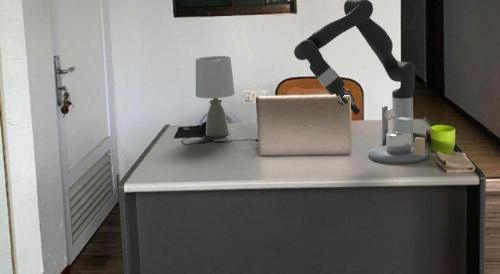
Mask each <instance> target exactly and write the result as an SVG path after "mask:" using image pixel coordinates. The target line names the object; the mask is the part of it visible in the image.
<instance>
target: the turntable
mask: <svg viewBox="0 0 500 274" xmlns="http://www.w3.org/2000/svg"><path fill="white" fill-rule="evenodd" d="M367 153H368V155H367V156H368V159H369V160H372V161H374V162H377V163H382V164H384V163H385V164H394V165H396V164H397V165H398V164H399V165H400V164H403V165H404V164H413V163H418V162H422V161H424V160H425V161H426V159H428V157H429V151H428V150H427V149H426V138H425V137H418V136H417V137H414V145H413V146H411V153H410V154H406V155H392V154H388V153H387V152H386V146H380V145H379V146H376V147H372V148H370V149H369V150H368V152H367Z"/></svg>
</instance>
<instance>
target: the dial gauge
mask: <svg viewBox="0 0 500 274" xmlns="http://www.w3.org/2000/svg"><path fill="white" fill-rule="evenodd" d="M395 116H396V113H395V111H394V110H392V108H391V109H390V108H388V106H385V105H382V106H381V127H382V128H381V129H382V130H381V131H382V132H381V133H382V134H381V144H380V145H379V146H386V134H387V133H389V127H388V126H389V121H392V119H394V118H395Z"/></svg>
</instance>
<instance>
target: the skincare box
mask: <svg viewBox="0 0 500 274" xmlns="http://www.w3.org/2000/svg"><path fill="white" fill-rule="evenodd" d="M397 131H403V132H409V133H411V146H414V118H413V119H411V118H405V117H400V118H397Z"/></svg>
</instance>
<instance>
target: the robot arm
mask: <svg viewBox="0 0 500 274" xmlns="http://www.w3.org/2000/svg"><path fill="white" fill-rule="evenodd" d="M343 11H344V14H345V15H344V16H342V17H340V18H338V19H334V20H332V21H329V22H327V23H325V24H324V25H322V26H320V27H319V28H318V29H317V30H316V31H314V32H313V33H312V34H311V35H310V36H309V37H307V38H305V39H304V40H302V41H300V42H299V43H298V44H297V45H296V46H295V47H294V51H293V54H294V57H295V58H296V59H297V60H300V61H306V60H307V62H308V63H309V70H310V71H311V73H313V75H314V76H315V77H316V78H317V80H318V81H319V83H320V84H321V86H323V88H324V89H325V90H326V91H327V92H328V93H329V94H330V95H331V96H332V95H333V96H334V95H335V96H336V97H338V96H339V97H338V98H339V99H338V98H337V99H338V102H337V103H338V104H340V105H341V106H342V105H343V103H345V104H346V103H348V102H347V100H346V99H345V98H343V96H344V95H350V97H351V109H350V110H351V112H353V114H354V115H355V116H357V115H359V113H360V112H361V110H360V108H359V107H358V106H357V105H356V103H355V101H356V100H355V97H354V96H353V93H352V92H351V90H350V89H346V88H345V87H344V86H345V85H346V82H345V81H344V80H343V78H341V76H340V75H339V74H338V73H337V72H336V70H335V69H334V68H332V67H331V66H330V64H329V63H328V62H327V60H325V59H324V57H323V55H322V53H321V51H320V49H322V48H324V47H325V46H326V45H328V44H329V43H330V42H332V41H333V40H335V39H336V38H338V37H339V36H340V35H342V34H344V33H345V32H347V31H349V30H350V29H352V28H354V27H355V28H356V29H357V30H358V31H359V33H360V34H361V36H362V37H363V38H364V40H365V41H366V43H367V44H368V45H369V47H370V49H371V51H372V52H373V53H374V54H375V55H376V57H377V59H378V60H379V61H380V64H381V65H382V67H383V68H384V70H385V72H386V74H387V76H388V77H389V79H390V80H392V81H393V82H398V83H400V86H399V88H397V89H393V90H392V93H391V97H392V98H391V105H392V106H391V109H392V110H394V111H395V113H396V116H395V118H394V119H392V120H391V121H392V126H391V127H392V128H391V129H392V130H391V132H395V131H397V118H400V117H405V118H411V119H413V120H414V111H413V110H414V109H413V107H414V102H413V101H414V99H413V94H414V91H415V82H416V68H415V65H414V64H413V63H412V62H409V61H398V60H397V59H396V58H395V57H394V54H393V48H394V47H393V46H394V44H393V40H392V38H391V37H390V35H388V33H387V31H386V30H385V29H384V28H383V27H382V26H381V25H379V24H378V23H377V22H375V20H373V19H372V18H371V16H372V14H373V12H374V6H373V3H372V2H371V1H370V0H345V2H344V4H343Z"/></svg>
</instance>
